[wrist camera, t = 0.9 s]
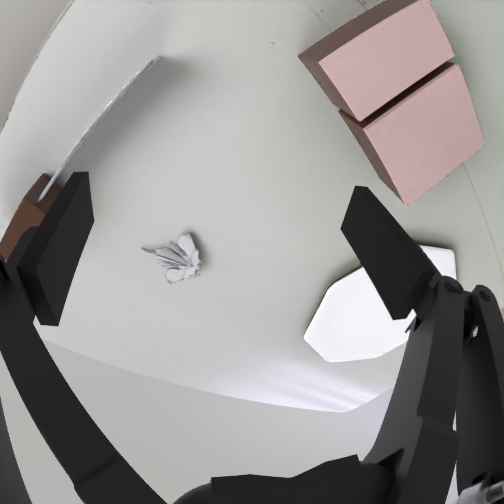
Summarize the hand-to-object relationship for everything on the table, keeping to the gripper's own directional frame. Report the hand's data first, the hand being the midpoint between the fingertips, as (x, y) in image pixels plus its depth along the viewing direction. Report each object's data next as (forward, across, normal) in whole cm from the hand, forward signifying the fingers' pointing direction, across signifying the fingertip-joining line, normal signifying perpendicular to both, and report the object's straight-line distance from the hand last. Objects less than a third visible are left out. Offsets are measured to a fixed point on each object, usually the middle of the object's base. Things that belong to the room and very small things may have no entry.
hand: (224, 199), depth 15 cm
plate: (+16, +31, -27) cm, 44 cm away
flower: (+16, -3, -17) cm, 23 cm away
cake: (+16, +20, +3) cm, 26 cm away
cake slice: (+16, +13, +9) cm, 23 cm away
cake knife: (+16, -14, -4) cm, 21 cm away
